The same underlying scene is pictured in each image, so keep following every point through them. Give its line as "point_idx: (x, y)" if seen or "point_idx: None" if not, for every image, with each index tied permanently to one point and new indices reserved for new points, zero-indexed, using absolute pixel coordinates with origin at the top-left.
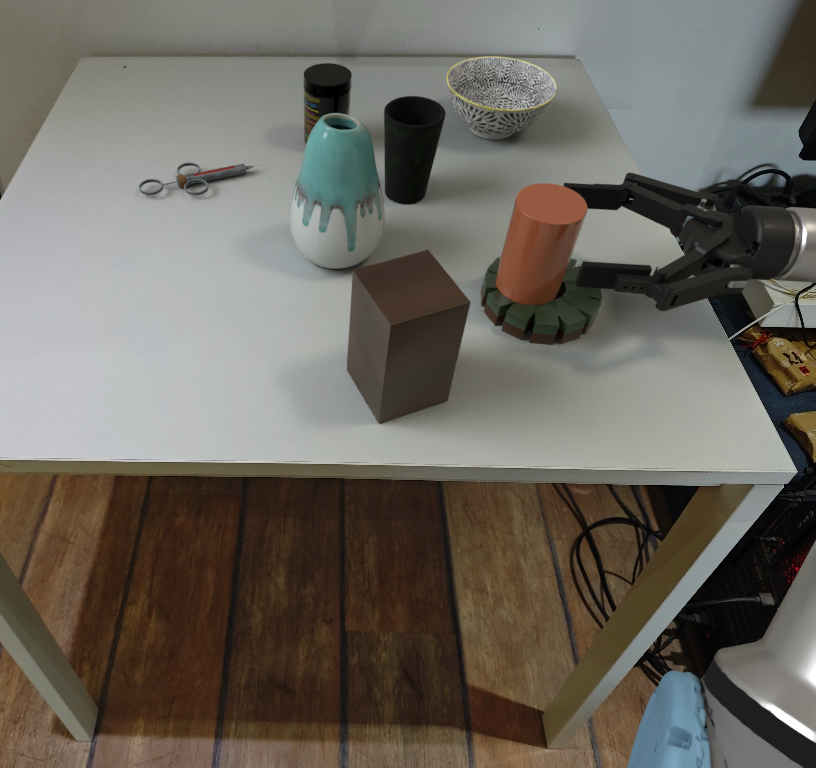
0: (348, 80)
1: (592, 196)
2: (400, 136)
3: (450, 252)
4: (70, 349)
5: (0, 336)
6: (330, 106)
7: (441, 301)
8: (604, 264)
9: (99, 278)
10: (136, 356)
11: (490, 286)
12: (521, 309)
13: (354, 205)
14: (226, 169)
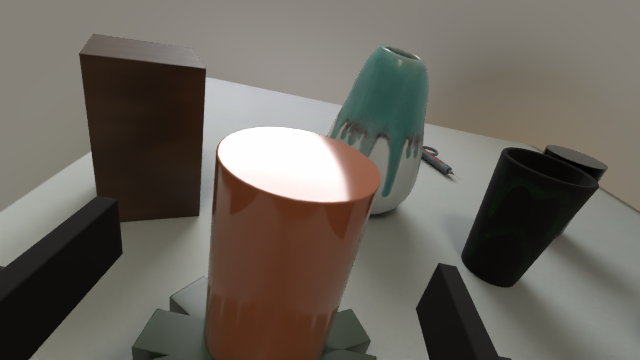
0: (580, 164)
1: (453, 354)
2: (496, 167)
3: (379, 286)
4: (252, 106)
5: (266, 98)
6: None
7: (101, 48)
8: (72, 231)
9: (311, 119)
10: (240, 117)
11: None
12: (201, 296)
13: (343, 120)
14: (437, 160)
